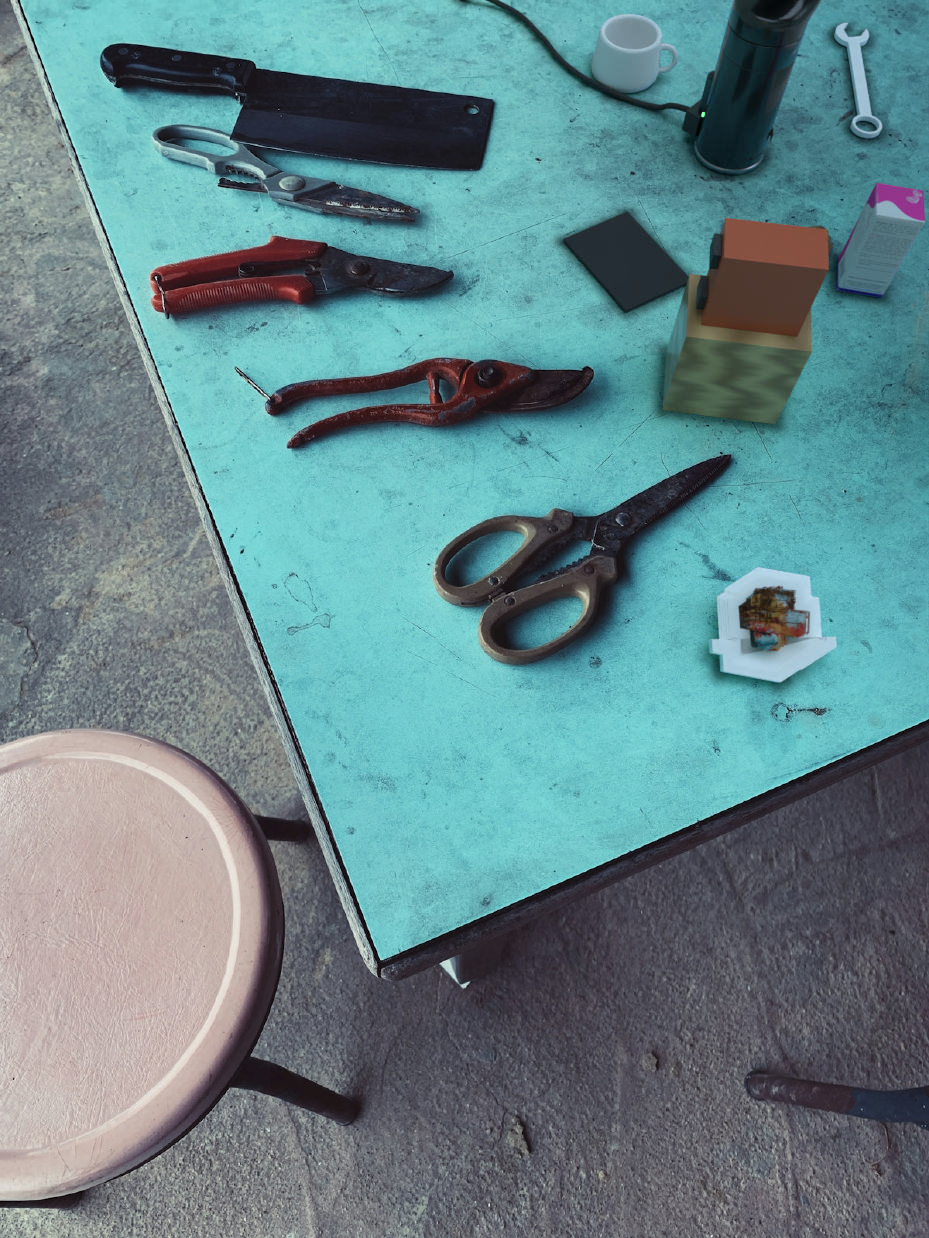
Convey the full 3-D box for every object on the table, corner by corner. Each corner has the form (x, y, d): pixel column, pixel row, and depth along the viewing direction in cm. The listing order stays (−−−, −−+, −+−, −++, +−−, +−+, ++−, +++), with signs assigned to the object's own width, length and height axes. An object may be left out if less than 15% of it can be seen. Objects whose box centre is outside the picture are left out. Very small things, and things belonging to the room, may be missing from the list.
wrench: (865, 28, 139) (832, 26, 139) (867, 24, 138) (834, 21, 138) (884, 139, 128) (849, 137, 128) (886, 135, 127) (851, 132, 127)
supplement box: (883, 299, 115) (926, 223, 105) (835, 291, 115) (873, 215, 105) (884, 265, 117) (925, 188, 107) (836, 258, 118) (873, 180, 108)
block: (796, 296, 99) (827, 227, 91) (797, 337, 96) (829, 269, 88) (695, 284, 99) (717, 215, 91) (693, 324, 97) (715, 256, 89)
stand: (775, 364, 110) (810, 287, 99) (775, 424, 106) (812, 351, 95) (666, 351, 111) (689, 273, 100) (662, 410, 107) (685, 336, 96)
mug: (586, 91, 132) (592, 49, 126) (594, 49, 136) (600, 7, 130) (670, 102, 131) (679, 60, 125) (676, 60, 135) (685, 18, 130)
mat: (562, 241, 118) (563, 238, 118) (626, 214, 121) (627, 211, 120) (625, 313, 113) (626, 310, 113) (691, 283, 116) (691, 280, 115)
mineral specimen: (818, 570, 95) (842, 557, 88) (826, 683, 94) (850, 678, 87) (700, 573, 96) (714, 560, 89) (706, 685, 95) (720, 681, 88)
